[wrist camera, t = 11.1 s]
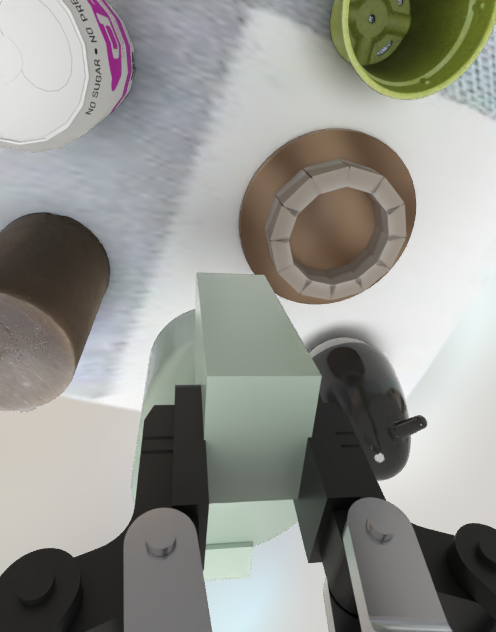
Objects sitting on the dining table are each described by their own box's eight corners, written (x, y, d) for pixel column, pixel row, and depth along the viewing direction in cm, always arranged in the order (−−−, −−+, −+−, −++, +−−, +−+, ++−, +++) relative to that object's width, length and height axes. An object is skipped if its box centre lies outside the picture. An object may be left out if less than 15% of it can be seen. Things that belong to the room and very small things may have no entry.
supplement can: (102, -37, 28) (36, -109, 16) (153, 97, 33) (134, 125, 20) (-11, 6, 29) (-164, -30, 16) (55, 133, 33) (-26, 182, 20)
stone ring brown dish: (342, 82, 34) (360, 86, 30) (441, 220, 41) (465, 235, 37) (202, 224, 38) (203, 242, 35) (313, 325, 46) (324, 349, 42)
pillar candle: (78, 197, 36) (16, 276, 23) (127, 295, 41) (98, 403, 28) (-30, 232, 36) (-149, 328, 24) (32, 324, 42) (-38, 444, 29)
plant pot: (280, 6, 31) (310, -8, 23) (392, -104, 28) (465, -158, 21) (349, 116, 35) (392, 132, 28) (451, 28, 33) (527, 21, 26)
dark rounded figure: (397, 343, 48) (474, 449, 35) (340, 406, 52) (391, 522, 39) (327, 306, 45) (384, 409, 32) (271, 377, 49) (302, 494, 36)
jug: (268, 434, 24) (334, 672, 13) (149, 437, 23) (122, 696, 12) (290, 246, 20) (410, 375, 9) (147, 240, 19) (103, 376, 8)
